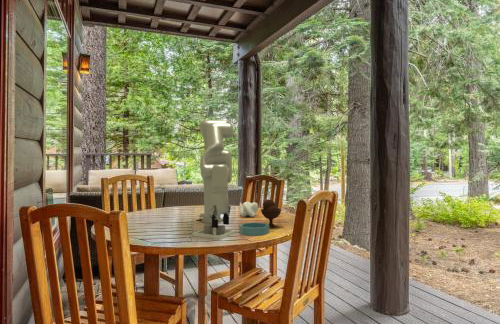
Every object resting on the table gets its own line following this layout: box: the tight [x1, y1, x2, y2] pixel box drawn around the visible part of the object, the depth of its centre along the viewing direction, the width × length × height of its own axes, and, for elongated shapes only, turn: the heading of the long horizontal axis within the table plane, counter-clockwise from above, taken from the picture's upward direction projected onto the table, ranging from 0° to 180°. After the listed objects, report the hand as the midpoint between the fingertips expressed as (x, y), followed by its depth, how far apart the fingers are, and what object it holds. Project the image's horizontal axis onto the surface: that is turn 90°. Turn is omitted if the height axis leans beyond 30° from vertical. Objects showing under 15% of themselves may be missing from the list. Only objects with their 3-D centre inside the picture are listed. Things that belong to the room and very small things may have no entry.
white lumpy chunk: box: [239, 201, 259, 218], centre depth 228 cm, size 11×12×9 cm
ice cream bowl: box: [260, 199, 282, 229], centre depth 193 cm, size 11×11×15 cm
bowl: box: [238, 221, 270, 237], centre depth 178 cm, size 14×14×4 cm
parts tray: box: [192, 228, 237, 240], centre depth 174 cm, size 16×14×2 cm
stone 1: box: [203, 223, 213, 235], centre depth 175 cm, size 4×4×4 cm
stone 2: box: [216, 224, 226, 236], centre depth 172 cm, size 4×4×4 cm
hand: (220, 226), depth 171 cm, fingers open, 9 cm apart
